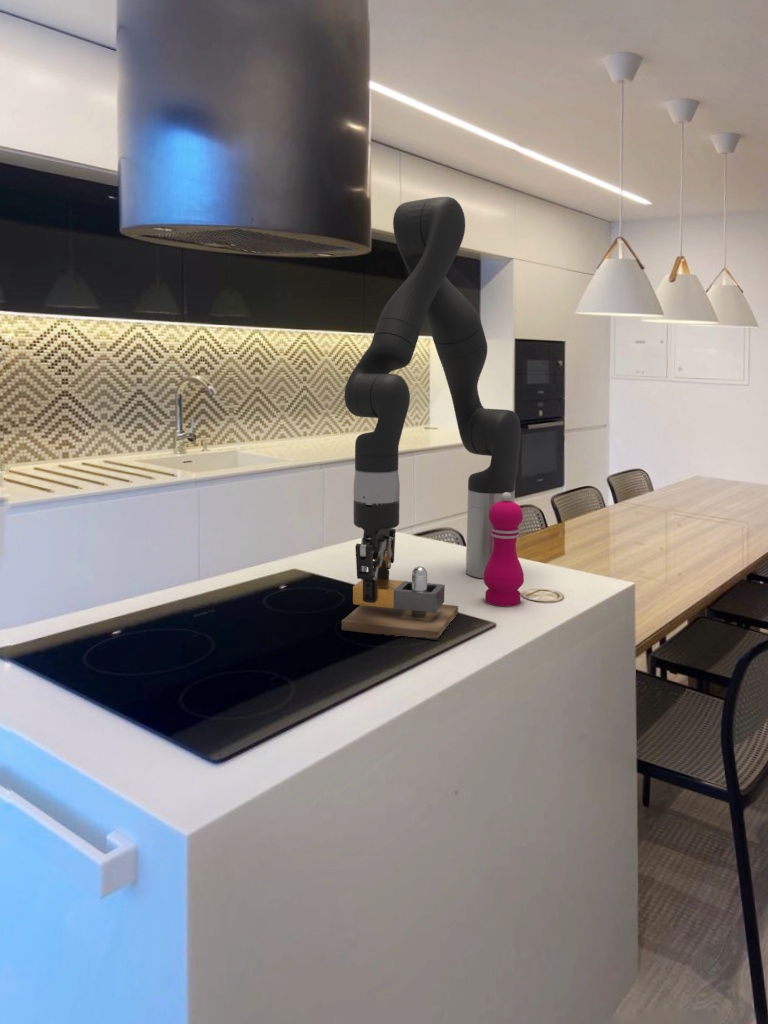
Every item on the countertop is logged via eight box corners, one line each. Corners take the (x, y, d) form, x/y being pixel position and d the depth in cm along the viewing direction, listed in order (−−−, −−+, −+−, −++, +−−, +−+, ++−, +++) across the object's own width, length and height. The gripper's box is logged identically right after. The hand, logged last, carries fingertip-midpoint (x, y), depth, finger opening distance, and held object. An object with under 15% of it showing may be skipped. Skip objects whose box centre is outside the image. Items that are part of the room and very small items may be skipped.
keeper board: (369, 605, 145) (369, 597, 145) (457, 614, 141) (458, 605, 140) (341, 630, 132) (341, 621, 132) (437, 641, 127) (438, 631, 127)
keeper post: (413, 612, 137) (414, 564, 135) (428, 613, 136) (429, 565, 134) (409, 616, 134) (410, 567, 133) (424, 618, 134) (425, 569, 132)
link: (364, 594, 141) (364, 577, 140) (444, 601, 137) (444, 584, 136) (353, 604, 135) (353, 586, 135) (435, 612, 131) (435, 594, 131)
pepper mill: (522, 608, 144) (526, 496, 140) (480, 606, 145) (484, 494, 142) (523, 597, 151) (528, 489, 147) (484, 594, 152) (487, 488, 148)
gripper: (369, 489, 142) (368, 583, 145) (339, 503, 128) (339, 606, 131) (410, 491, 139) (409, 587, 143) (384, 506, 126) (384, 611, 129)
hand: (376, 595), depth 137 cm, fingers closed on link, 6 cm apart
